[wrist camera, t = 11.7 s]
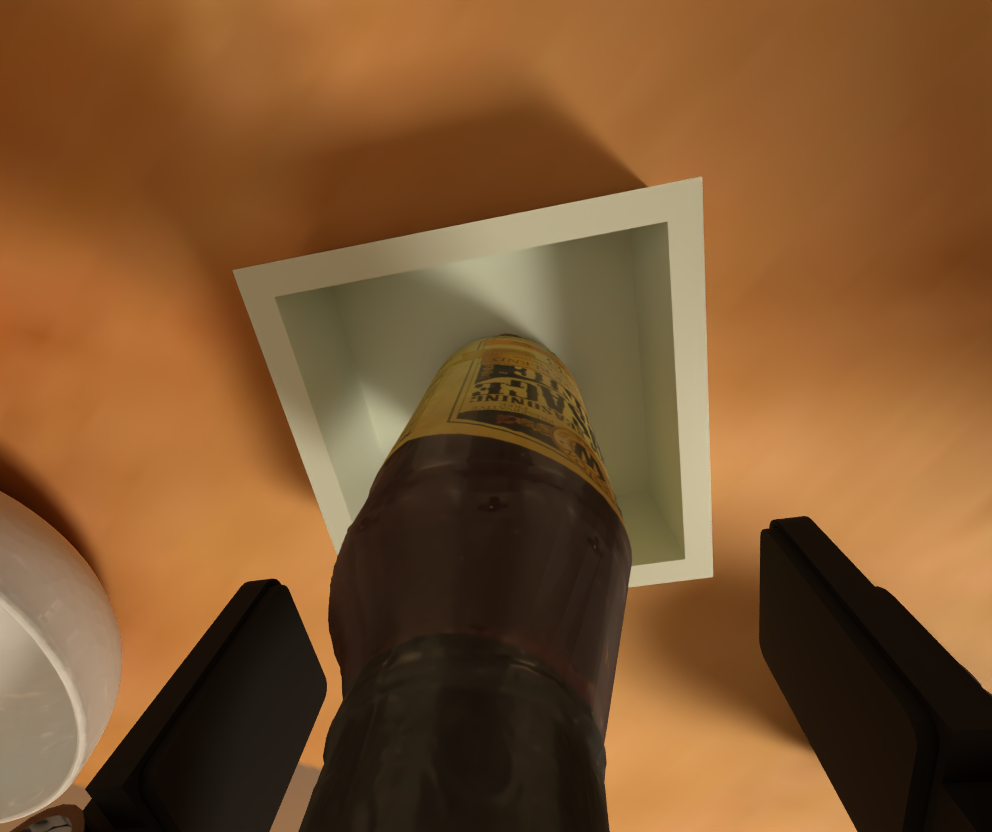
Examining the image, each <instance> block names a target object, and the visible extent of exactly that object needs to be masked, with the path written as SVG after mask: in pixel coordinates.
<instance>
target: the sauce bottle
mask: <svg viewBox="0 0 992 832" xmlns="http://www.w3.org/2000/svg"><path fill="white" fill-rule="evenodd" d="M631 566H632V549H631V545H630V540H629V537H628V534H627V531H626V528H625V524H624V521H623V516H622V512H621V509H620V508H619V507H618V504H617V498H616V496H615V493H614V491H613V489H612V486H611V483H610V480H609V477H608V474H607V471H606V467H605V463H604V458H603V456H602V454H601V451H600V447H599V446H598V443H597V441H596V437H595V433H594V430H593V428H592V426H591V423H590V421H589V418H588V415H587V412H586V409H585V406H584V403H583V400H582V398H581V395H580V392H579V389H578V386H577V384H576V382H575V380H574V377H573V376H572V374H571V373H570V371H569V370H568V368H567V367H566V366H565V364H564V363H563V362H562V361H561V360H560V359H559V358H558V357H557V356H556V355H555V354H554V353H553V352H551V351H550V350H549V349H547V348H545V347H544V346H541V345H539V344H537V343H536V342H535V341H532V340H529V339H526V338H522V337H520V336H517V335H513V334H507V333H505V334H501V335H499V336H493V337H488V338H482V339H480V340H477V341H474V342H472V343H470V344H468V345H466V346H464V347H463V348H461V349H460V350H458V351H457V352H455V353H454V354H453V355H452V356H451V357H450V358H449V359H448V360H447V361H446V362H445V363H444V364H443V365H442V366H441V367H440V369H439V371H438V372H437V374H436V375H435V377H434V379H433V380H432V382H431V384H430V385H429V387H428V389H427V390H426V392H425V394H424V396H423V398H422V400H421V401H420V403H419V405H418V406H417V408H416V410H415V412H414V413H413V415H412V417H411V418H410V420H409V422H408V423H407V425H406V427H405V428H404V430H403V432H402V433H401V435H400V437H399V438H398V440H397V441H396V443H395V445H394V446H393V448H392V449H391V451H390V453H389V455H388V456H387V458H386V460H385V461H384V463H383V465H382V466H381V468H380V470H379V471H378V473H377V475H376V477H375V479H374V482H373V484H372V486H371V488H370V491H369V496H368V498H367V500H366V502H365V504H364V505H363V507H362V509H361V510H360V512H359V514H358V515H357V517H356V518H355V520H354V522H353V523H352V524H351V525H350V526H349V527H348V529H347V534H346V536H345V538H344V541H343V543H342V546H341V549H340V551H339V554H338V556H337V561H336V563H335V566H334V570H333V576H332V578H331V584H330V597H329V612H328V622H329V632H330V635H331V639H332V644H333V649H334V654H335V657H336V659H337V662H338V664H339V666H340V672H341V676H342V695H343V701H342V704H341V706H340V708H339V710H338V712H337V714H336V716H335V718H334V719H333V721H332V723H331V726H330V728H329V731H328V734H327V737H326V742H325V748H324V754H323V759H324V766H323V768H322V770H321V773H320V776H319V778H318V781H317V784H316V786H315V787H314V789H313V792H312V795H311V799H310V802H309V804H308V807H307V810H306V813H305V815H304V818H303V821H302V824H301V826H300V829H299V832H610V831H609V822H608V813H607V803H606V793H605V784H604V780H605V768H606V752H605V747H604V741H605V735H606V729H607V723H608V717H609V710H610V703H611V697H612V690H613V683H614V677H615V670H616V664H617V657H618V650H619V644H620V637H621V631H622V624H623V618H624V611H625V605H626V598H627V591H628V585H629V578H630V572H631Z"/></svg>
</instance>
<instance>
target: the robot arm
mask: <svg viewBox="0 0 992 832" xmlns="http://www.w3.org/2000/svg"><path fill="white" fill-rule="evenodd" d="M759 641H760V647H761V650H762V654H763V656H764V659H765V661H766V663H767V665H768V667H769V668H770V670H771V672H772V674H773V676H774V678H775V679H776V681H777V683H778V685H779V687H780V689H781V691H782V692H783V694H784V696H785V698H786V700H787V702H788V704H789V705H790V707H791V709H792V711H793V713H794V715H795V717H796V718H797V720H798V722H799V724H800V726H801V728H802V730H803V731H804V733H805V735H806V737H807V739H808V741H809V742H810V744H811V746H812V748H813V750H814V752H815V754H816V755H817V757H818V759H819V761H820V763H821V765H822V767H823V768H824V770H825V772H826V774H827V776H828V778H829V780H830V781H831V783H832V785H833V787H834V789H835V791H836V793H837V794H838V796H839V798H840V800H841V802H842V804H843V805H844V807H845V809H846V811H847V813H848V815H849V817H850V818H851V820H852V822H853V824H854V826H855V828H856V830H857V831H858V832H992V697H991V696H990V695H989V694H988V693H987V692H986V691H985V690H984V689H983V688H982V687H981V686H980V685H979V684H978V683H977V682H976V680H975V679H974V678H973V677H972V676H971V675H970V674H969V673H968V672H967V671H966V670H965V669H964V668H963V667H962V666H961V665H960V664H959V663H958V662H957V661H956V660H955V659H954V658H953V657H952V656H951V655H950V654H949V653H948V652H947V651H946V650H945V649H944V647H943V646H942V645H941V644H940V643H939V642H938V641H937V640H936V639H935V638H934V637H933V636H932V635H931V634H930V633H929V632H928V631H927V630H926V629H925V628H924V627H923V626H922V625H921V624H920V623H919V622H918V621H917V620H916V619H915V618H914V617H913V616H912V615H911V613H910V612H909V611H908V610H907V609H906V608H905V607H904V606H903V605H902V604H901V603H900V602H899V601H898V600H897V599H896V598H895V597H894V596H893V595H892V594H890V593H889V592H888V591H887V590H886V589H883V588H881V587H878V586H877V587H875V586H874V585H873V584H872V583H871V582H870V581H869V580H868V579H867V578H866V577H865V576H864V575H863V574H862V573H861V571H860V570H859V569H858V568H857V567H856V566H855V565H854V564H853V563H852V562H851V561H850V560H849V559H848V558H847V557H846V556H845V554H844V553H843V552H842V551H841V550H840V549H839V548H838V547H837V546H836V545H835V544H834V543H833V542H832V541H831V540H830V539H829V538H828V536H827V535H826V534H825V533H824V532H823V531H822V530H821V529H820V528H819V527H818V526H817V525H816V524H815V523H814V522H813V521H812V520H811V519H810V518H809V517H806V516H801V517H793V518H784V519H776V520H772V521H771V523H770V527H769V529H763V530H762V531H761V536H760V619H759ZM326 691H327V681H326V677H325V675H324V673H323V670H322V668H321V665H320V663H319V661H318V658H317V656H316V653H315V651H314V649H313V646H312V644H311V642H310V639H309V637H308V634H307V632H306V630H305V627H304V625H303V622H302V620H301V618H300V615H299V613H298V611H297V608H296V606H295V603H294V601H293V599H292V596H291V594H290V592H289V589H288V588H287V587H286V586H285V585H281V583H280V582H279V581H278V580H277V579H266V580H257V581H249V582H246V583H244V584H243V585H242V586H241V587H240V589H239V590H238V591H237V593H236V594H235V595H234V596H233V598H232V599H231V600H230V602H229V603H228V604H227V606H226V607H225V608H224V609H223V611H222V612H221V613H220V615H219V616H218V617H217V619H216V620H215V621H214V622H213V624H212V625H211V626H210V628H209V629H208V630H207V631H206V633H205V634H204V635H203V637H202V638H201V639H200V641H199V642H198V643H197V644H196V646H195V647H194V648H193V650H192V651H191V652H190V654H189V655H188V656H187V657H186V659H185V660H184V661H183V663H182V664H181V665H180V667H179V668H178V669H177V670H176V672H175V673H174V674H173V676H172V677H171V678H170V680H169V681H168V682H167V683H166V685H165V686H164V687H163V689H162V690H161V691H160V693H159V694H158V695H157V696H156V698H155V699H154V700H153V702H152V703H151V704H150V705H149V707H148V708H147V709H146V711H145V712H144V713H143V715H142V716H141V717H140V718H139V720H138V721H137V722H136V724H135V725H134V726H133V728H132V729H131V730H130V731H129V733H128V734H127V735H126V737H125V738H124V739H123V741H122V742H121V743H120V744H119V746H118V747H117V748H116V750H115V751H114V752H113V754H112V755H111V756H110V757H109V759H108V760H107V761H106V763H105V764H104V765H103V767H102V768H101V769H100V770H99V772H98V773H97V774H96V776H95V777H94V778H93V779H92V781H91V782H90V783H89V785H88V786H87V787H86V789H85V790H86V791H87V792H88V794H89V795H90V796H91V798H92V799H91V800H90V802H89V803H88V804H87V806H86V807H85V809H84V810H81V809H80V808H79V807H77V806H76V805H70V804H62V805H59V806H56V807H52V808H49V809H46V810H44V811H42V812H40V813H38V814H36V815H34V816H32V817H30V818H29V819H27V820H26V821H25V822H23V823H22V824H20V825H19V826H17V827H16V828H14V829H13V830H12V831H10V832H269V831H270V829H271V826H272V824H273V821H274V819H275V817H276V814H277V812H278V810H279V807H280V805H281V802H282V800H283V798H284V795H285V793H286V790H287V788H288V785H289V783H290V780H291V778H292V776H293V773H294V771H295V769H296V766H297V764H298V762H299V759H300V757H301V754H302V752H303V750H304V747H305V745H306V742H307V740H308V738H309V735H310V733H311V730H312V728H313V726H314V723H315V721H316V718H317V716H318V714H319V711H320V709H321V707H322V704H323V702H324V699H325V696H326Z"/></svg>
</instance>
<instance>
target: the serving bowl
mask: <svg viewBox="0 0 992 832" xmlns="http://www.w3.org/2000/svg"><path fill="white" fill-rule="evenodd" d="M121 672H122V645H121V637H120V631H119V627H118V623H117V619H116V616H115V613H114V610H113V607H112V604H111V602H110V600H109V597H108V596H107V594H106V592H105V590H104V588H103V586H102V585H101V583H100V581H99V579H98V578H97V576H96V575H95V573H94V572H93V570H92V569H91V567H90V566H89V564H88V563H87V562H86V561H85V559H84V558H83V557H82V556H81V555H80V554H79V553H78V551H77V550H76V549H75V548H74V547H73V546H72V545H71V544H70V543H69V542H68V541H67V540H66V539H65V538H64V537H63V536H62V535H61V534H60V533H59V532H58V531H57V530H56V529H55V528H53V527H52V526H51V525H50V524H49V523H47V522H46V521H45V520H44V519H42V518H41V517H40V516H38V515H37V514H36V513H34V512H33V511H31V510H30V509H28V508H27V507H26V506H24V505H23V504H21V503H20V502H18V501H16V500H15V499H13V498H12V497H10V496H8V495H6V494H4V493H3V492H1V491H0V823H4V822H8V821H12V820H15V819H18V818H22V817H25V816H27V815H29V814H32V813H34V812H36V811H38V810H40V809H42V808H43V807H45V806H47V805H48V804H50V803H51V802H52V801H54V800H56V799H57V798H58V797H59V796H60V795H62V794H63V793H64V792H65V791H66V790H67V789H68V787H69V786H70V785H71V784H72V783H73V781H74V780H75V779H76V777H77V776H78V774H79V773H80V771H81V769H82V768H83V766H84V765H85V763H86V761H87V760H88V758H89V756H90V755H91V753H92V752H93V750H94V748H95V747H96V745H97V743H98V742H99V740H100V738H101V736H102V734H103V732H104V730H105V728H106V726H107V724H108V721H109V719H110V716H111V714H112V711H113V708H114V706H115V702H116V699H117V695H118V691H119V686H120V681H121Z"/></svg>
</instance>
